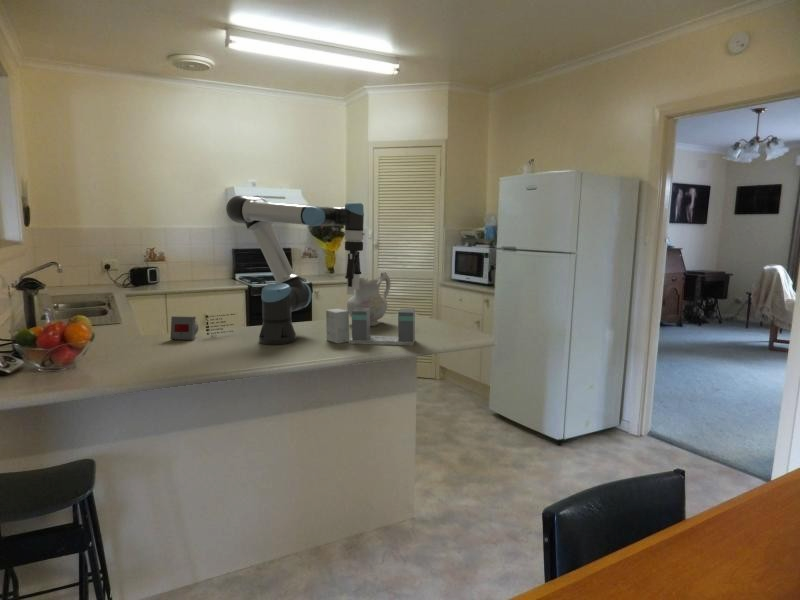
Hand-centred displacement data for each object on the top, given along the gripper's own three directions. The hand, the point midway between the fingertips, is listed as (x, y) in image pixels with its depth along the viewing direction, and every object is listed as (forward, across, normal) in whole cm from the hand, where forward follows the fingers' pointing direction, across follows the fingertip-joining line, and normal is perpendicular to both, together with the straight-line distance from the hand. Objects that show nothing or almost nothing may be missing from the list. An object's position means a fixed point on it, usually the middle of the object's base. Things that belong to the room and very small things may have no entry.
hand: (353, 292), depth 214 cm
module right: (+18, -4, -23) cm, 30 cm away
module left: (+19, -4, -4) cm, 19 cm away
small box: (+21, -3, +6) cm, 22 cm away
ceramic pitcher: (+21, +33, -3) cm, 39 cm away
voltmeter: (+23, -2, +64) cm, 68 cm away
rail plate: (+20, -4, -13) cm, 24 cm away
